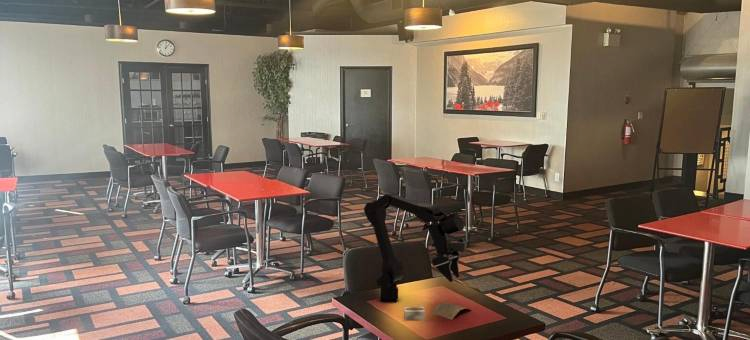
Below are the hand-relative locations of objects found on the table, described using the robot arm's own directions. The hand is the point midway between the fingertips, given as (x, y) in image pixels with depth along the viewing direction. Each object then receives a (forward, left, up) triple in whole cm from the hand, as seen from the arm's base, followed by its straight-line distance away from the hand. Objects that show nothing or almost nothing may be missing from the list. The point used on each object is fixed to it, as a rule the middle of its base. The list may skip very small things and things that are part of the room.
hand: (454, 279), depth 210 cm
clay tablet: (0, +5, -15) cm, 15 cm away
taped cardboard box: (-14, -2, -14) cm, 20 cm away
